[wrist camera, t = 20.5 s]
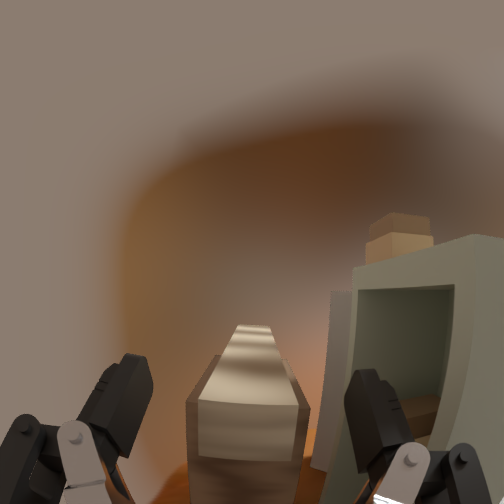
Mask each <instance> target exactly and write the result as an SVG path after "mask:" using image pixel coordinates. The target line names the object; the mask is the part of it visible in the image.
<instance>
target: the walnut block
mask: <svg viewBox="0 0 504 504" xmlns="http://www.w3.org/2000/svg"><path fill="white" fill-rule="evenodd" d="M221 356H222V355H215V357H214V358H213V360H212V361H211V363H210V364H209V366H208V368H207V369H206V371H205V372H204V374H203V375H202V377H201V379H200V380H199V382H198V383H197V385H196V386H195V388H194V389H193V391H192V392H191V394H190V395H189V397H188V398H187V400H186V439H187V461H188V477H189V491H190V502H191V504H293V503H294V499H295V494H296V490H297V485H298V480H299V475H300V470H301V465H302V459H303V454H304V448H305V442H306V436H307V429H308V423H309V416H310V406H309V404H308V402H307V400H306V398H305V396H304V394H303V392H302V390H301V388H300V386H299V384H298V381H297V379H296V377H295V375H294V373H293V371H292V369H291V367H290V365H289V363H288V360H287V359H282V362H283V365H284V367H285V370H286V373H287V375H288V378H289V380H290V383H291V386H292V388H293V391H294V394H295V396H296V399H297V401H298V404H299V408H298V416H297V424H296V431H295V438H294V445H293V452H292V458H291V461H249V460H234V459H223V458H214V457H206V456H199V452H198V398H199V396H200V395H201V393H202V391H203V389H204V387H205V386H206V384H207V382H208V380H209V378H210V377H211V375H212V373H213V371H214V369H215V367H216V366H217V364H218V362H219V360H220V358H221Z"/></svg>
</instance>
